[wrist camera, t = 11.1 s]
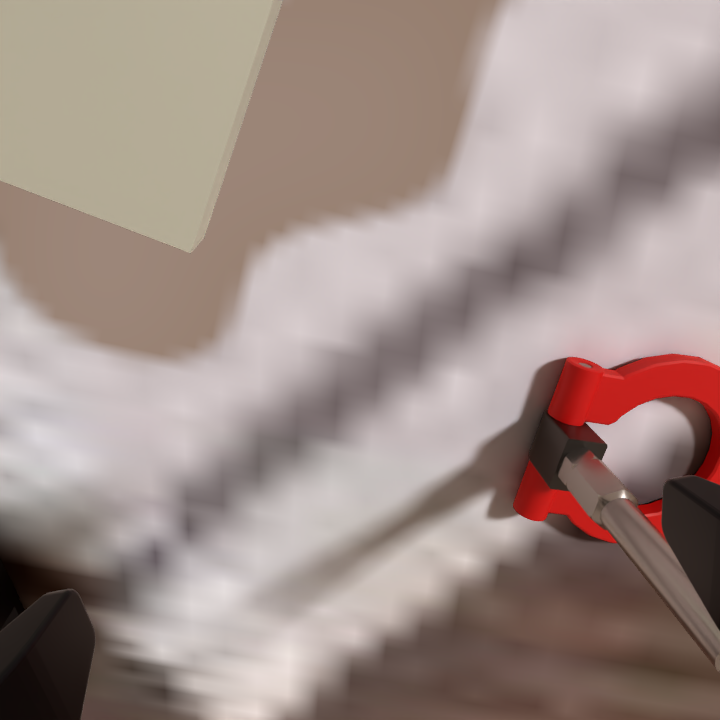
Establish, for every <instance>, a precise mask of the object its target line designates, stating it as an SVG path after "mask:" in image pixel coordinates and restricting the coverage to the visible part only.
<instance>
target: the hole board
mask: <svg viewBox="0 0 720 720" xmlns="http://www.w3.org/2000/svg"><path fill="white" fill-rule="evenodd" d="M282 2H283V0H0V181H2V182H5V183H7V184H10V185H13V186H15V187H18V188H21V189H23V190H26V191H28V192H31V193H33V194H36V195H39V196H41V197H44V198H47V199H49V200H52V201H54V202H57V203H60V204H63V205H65V206H68V207H70V208H73V209H76V210H78V211H81V212H83V213H86V214H89V215H91V216H94V217H96V218H99V219H102V220H104V221H107V222H109V223H112V224H115V225H117V226H120V227H123V228H125V229H128V230H130V231H133V232H136V233H138V234H141V235H144V236H146V237H149V238H151V239H154V240H157V241H159V242H162V243H165V244H167V245H170V246H172V247H175V248H178V249H180V250H183V251H186V252H188V253H192V251H193V250H194V249H195V248H196V247H197V246H198V244H199V243H200V242H201V241H202V240H203V238H204V237H205V234H206V231H207V228H208V225H209V222H210V218H211V216H212V213H213V210H214V207H215V203H216V200H217V197H218V195H219V191H220V189H221V185H222V182H223V179H224V176H225V173H226V170H227V167H228V164H229V161H230V158H231V155H232V152H233V149H234V146H235V143H236V140H237V137H238V134H239V131H240V128H241V125H242V122H243V119H244V116H245V113H246V110H247V107H248V104H249V101H250V98H251V95H252V92H253V89H254V86H255V83H256V80H257V77H258V74H259V71H260V68H261V65H262V62H263V59H264V56H265V53H266V50H267V47H268V44H269V41H270V38H271V35H272V32H273V29H274V26H275V23H276V20H277V17H278V14H279V11H280V8H281V5H282Z"/></svg>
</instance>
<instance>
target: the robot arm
mask: <svg viewBox="0 0 720 720" xmlns="http://www.w3.org/2000/svg"><path fill="white" fill-rule="evenodd" d="M661 525H662V530H663V534H664V536H665V539H666V540H667V542H668V544H669V546H670V547H671V549H672V551H673V553H674V554H675V556H676V558H677V560H678V561H679V563H680V565H681V566H682V568H683V570H684V572H685V573H686V575H687V577H688V579H689V580H690V582H691V584H692V585H693V587H694V589H695V591H696V592H697V594H698V596H699V598H700V599H701V601H702V603H703V604H704V606H705V608H706V610H707V611H708V613H709V615H710V616H711V618H712V620H713V621H714V623H715V625H716V626H717V628H718V629H719V631H720V485H719V484H716V483H714V482H711V481H708V480H706V479H703V478H700V477H698V476H695V475H687V476H682V477H676V478H671V479H668V480H667V481H666V482H665V483H664V486H663V497H662V519H661ZM94 648H95V631H94V628H93V625H92V623H91V620H90V618H89V616H88V614H87V611H86V609H85V607H84V604H83V602H82V600H81V597H80V596H79V594H78V592H77V591H75V590H73V589H66V590H60V591H55V592H50V593H46V594H44V595H43V596H41V597H40V598H39V599H38V600H37V601H36V602H34V603H33V604H32V605H31V606H30V607H28V608H27V609H26V610H24V608H23V606H22V604H21V602H20V600H19V597H18V594H17V592H16V590H15V588H14V586H13V584H12V582H11V580H10V578H9V576H8V574H7V572H6V570H5V568H4V566H3V564H2V562H1V560H0V720H81V715H82V710H83V705H84V700H85V695H86V689H87V684H88V679H89V674H90V669H91V664H92V658H93V653H94Z"/></svg>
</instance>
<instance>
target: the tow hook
mask: <svg viewBox="0 0 720 720" xmlns="http://www.w3.org/2000/svg"><path fill="white" fill-rule="evenodd" d="M671 396H676V397H685V398H691V399H693V400H696V401H698V402H700V403H701V404H702V405H703V406H704V407H705V409H706V411H707V413H708V415H709V417H710V420H711V428H712V438H711V444H710V449H709V451H708V453H707V456H706V458H705V460H704V462H703V464H702V465H701V467H700V468H699V470H698V471H697V472H696V474H695V476H698V477H700V478H703V479H706V480H708V481H711V482H714V483H716V484H719V485H720V367H719V366H717V365H715V364H713V363H711V362H708V361H706V360H704V359H702V358H700V357H695V356H687V355H679V354H668V355H660V356H653V357H646V358H643V359H640V360H638V361H635V362H633V363H630V364H627V365H625V366H622V367H620V368H618V369H616V370H610V369H604V368H602V367H601V366H599V365H597V364H595V363H593V362H591V361H588V360H585V359H582V358H576V357H568V358H567V359H566V362H565V365H564V367H563V370H562V373H561V375H560V378H559V381H558V384H557V386H556V389H555V392H554V394H553V397H552V400H551V403H550V405H549V408H548V409H547V410H546V411H545V412H544V414H543V416H542V419H541V422H540V424H539V427H538V430H537V433H536V435H535V438H534V441H533V443H532V446H531V449H530V452H529V462H528V465H527V468H526V470H525V473H524V476H523V478H522V481H521V484H520V487H519V489H518V492H517V495H516V497H515V500H514V503H513V507H514V509H515V510H516V512H518V513H519V514H520V515H521V516H523V517H525V518H527V519H530V520H533V521H543V520H545V519H546V517H547V515H548V513H554V514H562V515H567V516H568V518H569V519H570V521H571V522H572V523H573V524H574V525H575V526H577V527H578V528H580V529H581V530H582V531H584V532H585V533H586V534H588V535H589V536H592V537H595V538H598V539H601V540H604V541H607V542H610V543H618V544H619V546H620V547H621V548H622V550H623V551H624V552H625V553H626V555H627V556H628V557H629V558H630V560H631V561H632V562H633V564H634V565H635V566H636V567H637V569H638V570H639V571H640V573H641V574H642V575H643V576H644V578H645V579H646V580H647V581H648V583H649V584H650V585H651V587H652V588H653V589H654V590H655V592H656V593H657V594H658V595H659V597H660V598H661V599H662V601H663V602H664V603H665V604H666V606H667V607H668V608H669V609H670V611H671V612H672V613H673V615H674V616H675V617H676V618H677V620H678V621H679V622H680V623H681V625H682V626H683V627H684V629H685V630H686V631H687V632H688V634H689V635H690V636H691V637H692V639H693V640H694V641H695V643H696V644H697V645H698V646H699V648H700V649H701V650H702V651H703V653H704V654H705V655H706V657H707V658H708V659H709V660H710V662H711V663H712V664H713V665H714V667H715V668H716V669H717V670H718V672H720V631H719V629H718V628H717V626H716V625H715V623H714V621H713V620H712V618H711V616H710V615H709V613H708V611H707V610H706V608H705V606H704V604H703V603H702V601H701V599H700V598H699V596H698V594H697V592H696V591H695V589H694V587H693V585H692V584H691V582H690V580H689V579H688V577H687V575H686V573H685V572H684V570H683V568H682V566H681V565H680V563H679V561H678V560H677V558H676V556H675V554H674V553H673V551H672V549H671V547H670V546H669V544H668V542H667V540H666V539H665V536H664V534H663V530H662V525H661V519H662V499H661V500H658V501H656V502H653V503H650V504H645V505H638V499H637V498H636V497H635V496H634V495H633V494H632V493H631V492H630V491H629V490H628V489H627V488H626V486H625V485H624V484H623V483H622V482H621V481H620V480H619V479H618V478H617V477H616V476H615V475H614V473H613V472H612V471H611V470H610V469H609V468H608V467H607V466H606V465H605V464H604V463H603V462H602V458H603V456H604V453H605V451H606V449H607V444H606V443H605V442H604V441H603V440H602V439H601V438H600V437H599V436H598V435H597V434H596V433H595V432H594V431H593V430H592V429H591V428H590V427H589V426H588V425H587V424H586V423H585V422H592V423H599V424H605V425H609V424H612V423H614V422H616V421H617V420H618V419H619V418H620V417H621V416H622V415H624V414H625V413H627V412H629V411H630V410H632V409H633V408H635V407H636V406H638V405H641V404H643V403H646V402H648V401H651V400H654V399H657V398H664V397H671Z"/></svg>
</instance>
